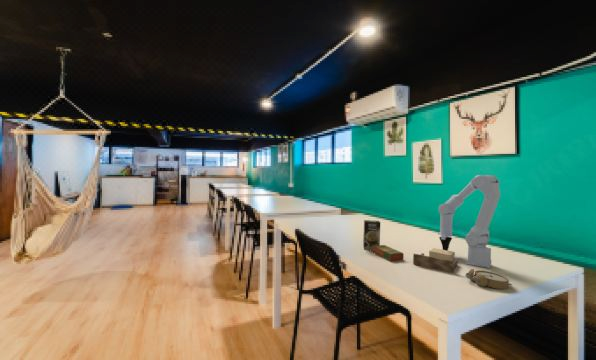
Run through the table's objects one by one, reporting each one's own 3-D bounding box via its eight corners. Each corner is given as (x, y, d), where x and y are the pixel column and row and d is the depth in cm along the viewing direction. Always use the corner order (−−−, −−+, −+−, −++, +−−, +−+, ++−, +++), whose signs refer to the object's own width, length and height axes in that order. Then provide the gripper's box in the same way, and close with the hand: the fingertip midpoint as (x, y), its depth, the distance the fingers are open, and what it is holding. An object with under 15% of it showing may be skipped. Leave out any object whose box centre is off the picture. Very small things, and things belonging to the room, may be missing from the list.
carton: (384, 252, 150) (384, 244, 150) (403, 260, 135) (404, 252, 135) (371, 253, 148) (372, 245, 148) (390, 262, 133) (390, 253, 133)
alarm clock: (517, 283, 101) (475, 274, 102) (514, 295, 101) (473, 286, 102) (497, 272, 112) (461, 264, 113) (495, 283, 112) (458, 275, 114)
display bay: (458, 265, 129) (458, 254, 128) (453, 272, 118) (453, 261, 118) (421, 257, 139) (421, 248, 139) (413, 264, 129) (413, 253, 129)
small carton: (454, 259, 138) (454, 251, 138) (450, 263, 133) (450, 255, 133) (433, 255, 145) (434, 248, 145) (429, 258, 140) (429, 250, 140)
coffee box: (363, 249, 154) (364, 221, 154) (362, 246, 161) (363, 219, 160) (380, 250, 153) (380, 222, 152) (378, 247, 159) (379, 220, 159)
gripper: (441, 223, 154) (440, 246, 154) (434, 226, 143) (434, 251, 143) (454, 224, 149) (454, 248, 150) (449, 228, 138) (449, 254, 138)
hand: (445, 250), depth 146 cm, fingers closed
